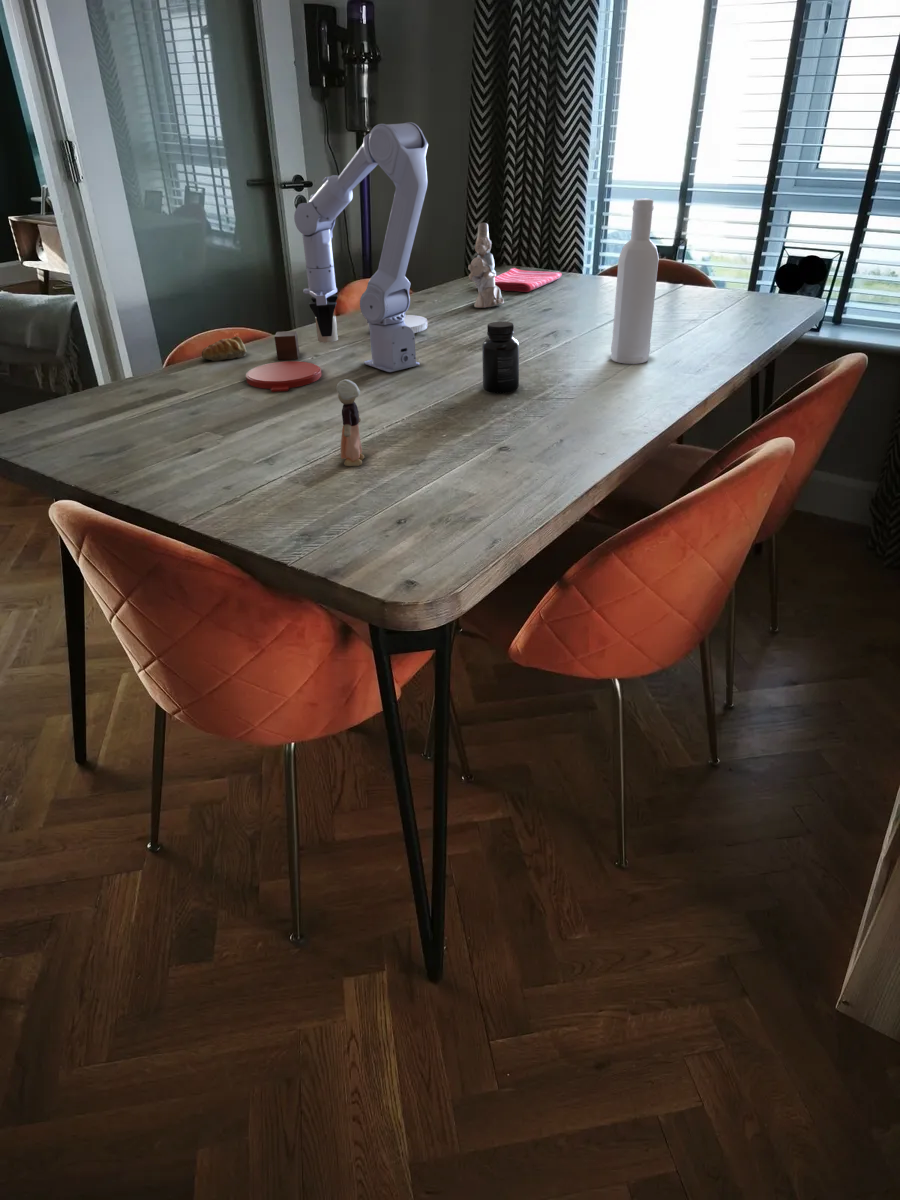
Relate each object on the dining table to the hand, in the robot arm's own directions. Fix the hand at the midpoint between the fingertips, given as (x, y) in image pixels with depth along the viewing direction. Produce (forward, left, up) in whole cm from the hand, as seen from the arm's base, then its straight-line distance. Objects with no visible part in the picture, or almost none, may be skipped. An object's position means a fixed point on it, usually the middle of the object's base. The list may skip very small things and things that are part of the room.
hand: (327, 333), depth 174 cm
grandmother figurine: (-55, +31, -5) cm, 64 cm away
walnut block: (+5, +7, -5) cm, 10 cm away
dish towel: (+26, -84, -5) cm, 88 cm away
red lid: (-8, +16, -5) cm, 19 cm away
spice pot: (0, 0, -1) cm, 1 cm away
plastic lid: (+6, -23, -5) cm, 24 cm away
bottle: (-48, -43, -5) cm, 65 cm away
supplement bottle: (-44, -10, -5) cm, 46 cm away
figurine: (+12, -57, -5) cm, 58 cm away
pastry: (+16, +17, -5) cm, 23 cm away
